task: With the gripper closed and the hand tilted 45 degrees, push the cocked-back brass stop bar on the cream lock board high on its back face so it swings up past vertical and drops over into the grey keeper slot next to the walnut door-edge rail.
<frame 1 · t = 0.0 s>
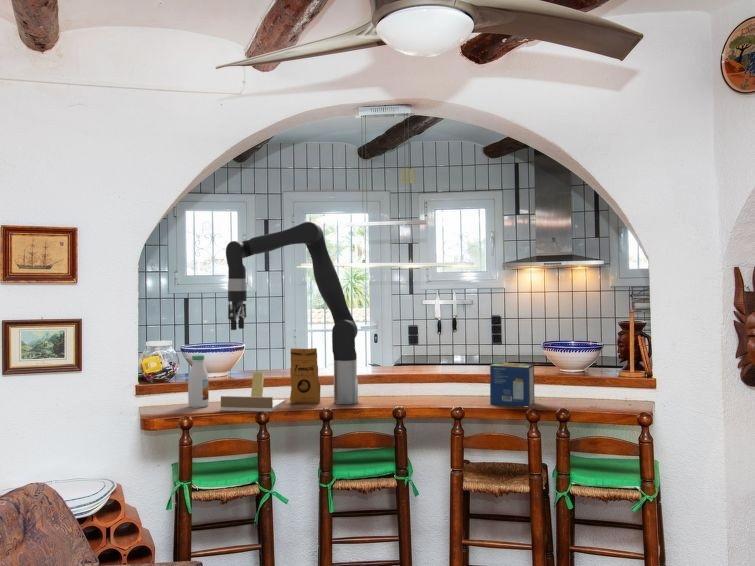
hand: (237, 329, 269), 29 cm above the breakfast bar, tool pointing down, fingers open, 8 cm apart
stop bar: (257, 386, 260), point 7 cm above the breakfast bar, hinge at -15.0°
protein box: (512, 404, 258), on the breakfast bar
lock board: (254, 406, 255), on the breakfast bar
milk bottle: (198, 406, 257), on the breakfast bar
coffee package: (305, 403, 263), on the breakfast bar
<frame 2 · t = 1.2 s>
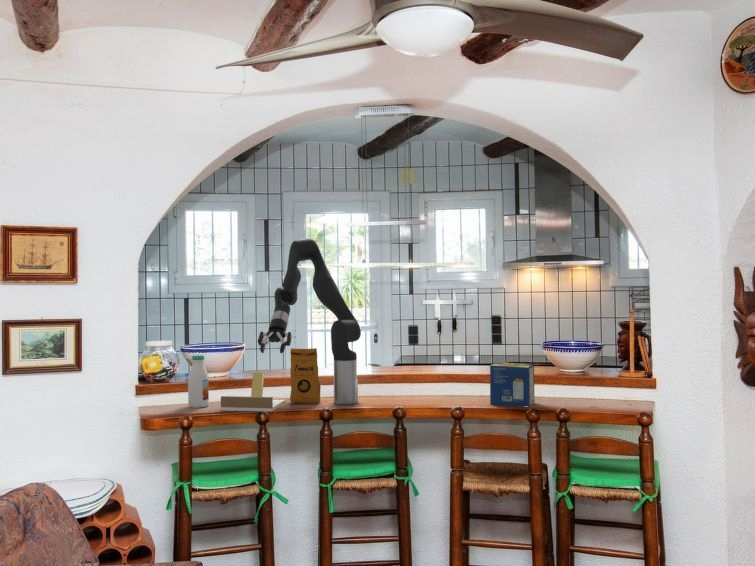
hand: (271, 352, 278), 19 cm above the breakfast bar, tool tilted 45°, fingers open, 8 cm apart
nothing on the breakfast bar moved.
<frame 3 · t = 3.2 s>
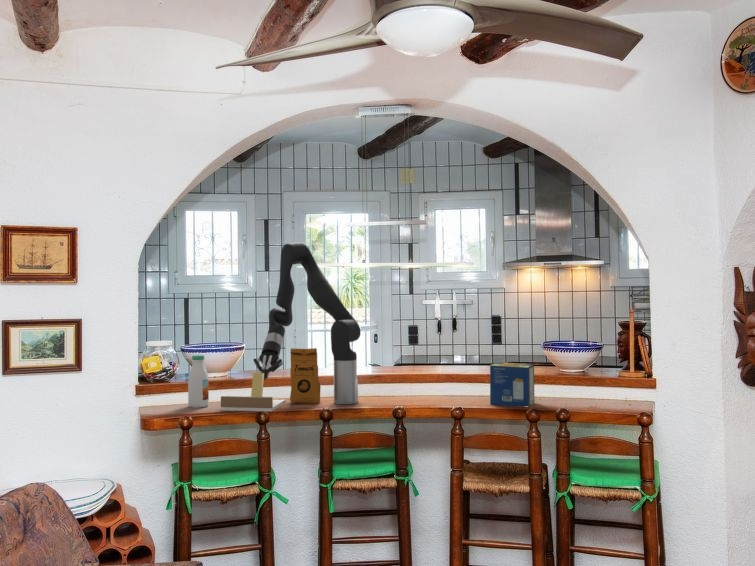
hand: (263, 378, 267), 9 cm above the breakfast bar, tool tilted 45°, fingers closed
nothing on the breakfast bar moved.
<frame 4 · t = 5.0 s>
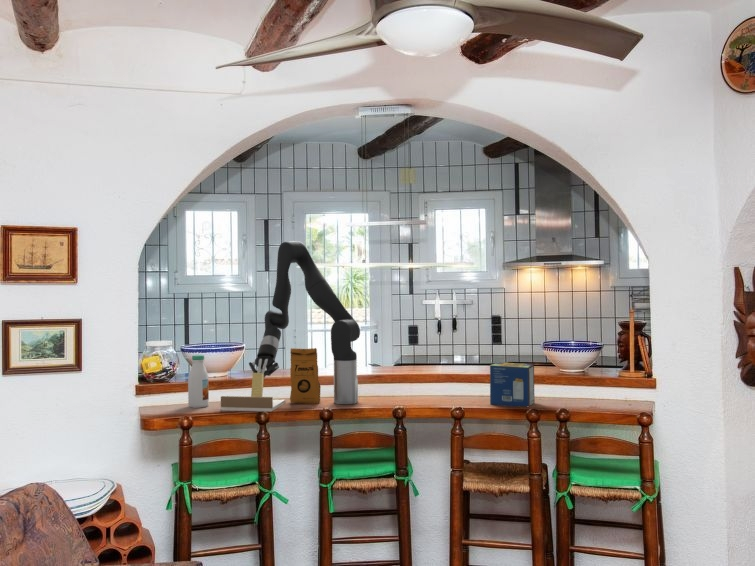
hand: (259, 382, 262), 8 cm above the breakfast bar, tool tilted 45°, fingers closed
stop bar: (257, 386, 260), point 7 cm above the breakfast bar, hinge at -13.5°, touching gripper
everything else where it was.
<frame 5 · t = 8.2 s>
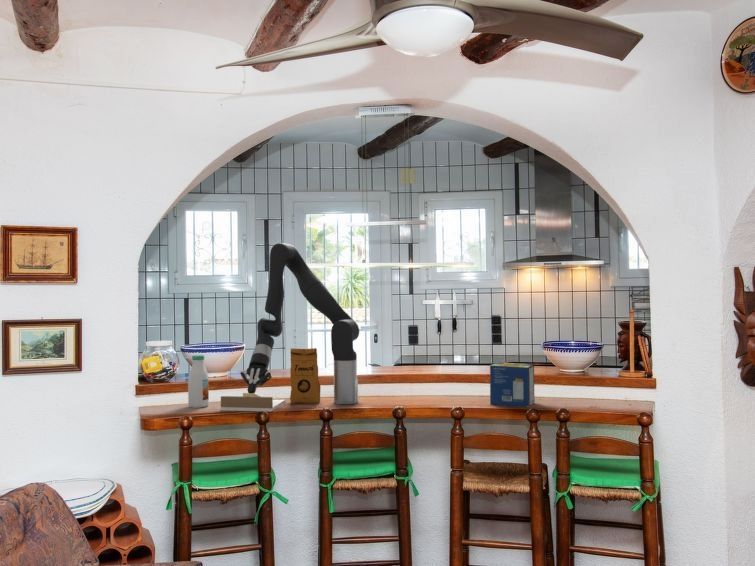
hand: (250, 393, 252), 6 cm above the breakfast bar, tool tilted 45°, fingers closed
stop bar: (252, 397, 254), point 4 cm above the breakfast bar, hinge at 72.4°
everything else where it was.
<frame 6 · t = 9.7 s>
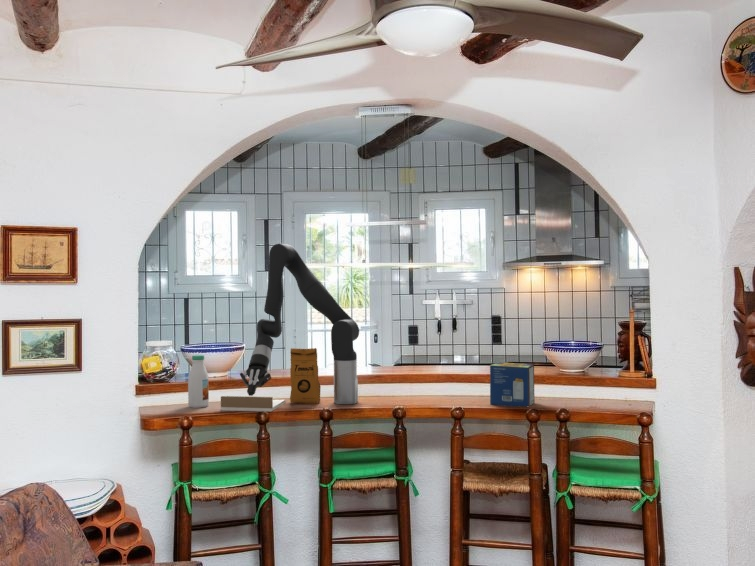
hand: (250, 394, 251), 5 cm above the breakfast bar, tool tilted 45°, fingers closed
stop bar: (252, 401, 254), point 2 cm above the breakfast bar, hinge at 91.1°, touching lock board
everything else where it was.
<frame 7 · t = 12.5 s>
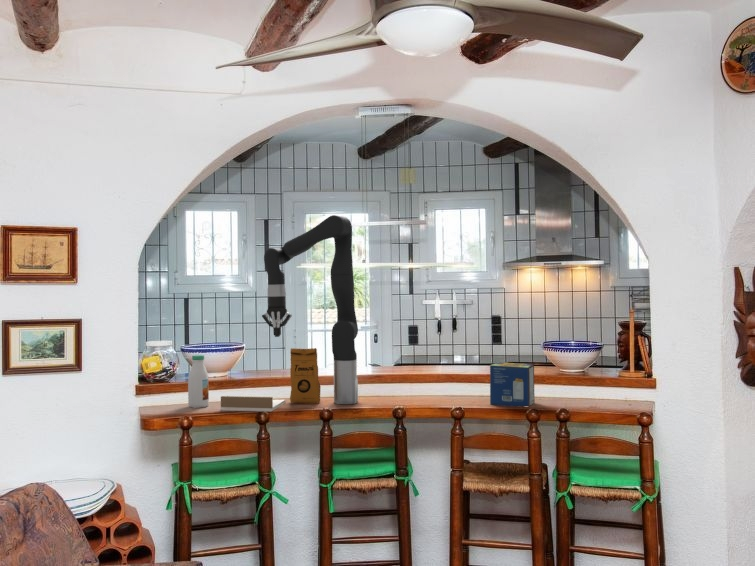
hand: (277, 336, 275), 26 cm above the breakfast bar, tool pointing down, fingers closed
nothing on the breakfast bar moved.
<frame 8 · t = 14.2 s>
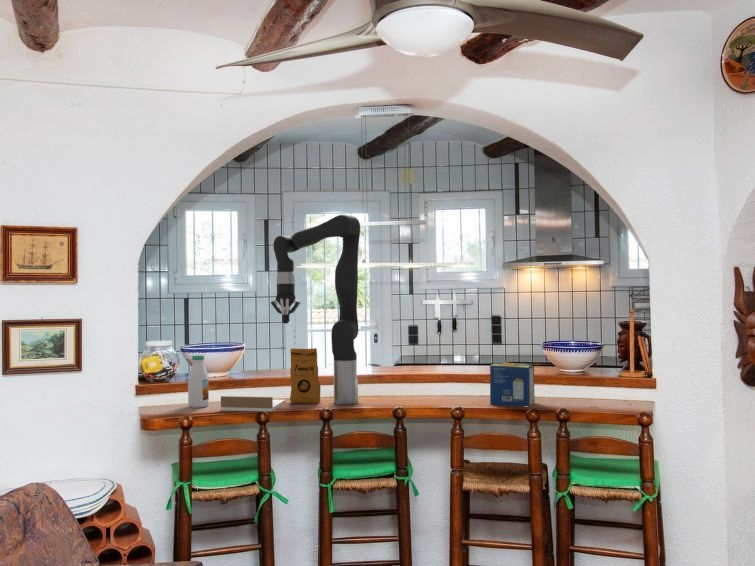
hand: (285, 323, 278), 31 cm above the breakfast bar, tool pointing down, fingers closed
nothing on the breakfast bar moved.
at the end: stop bar at +91° (first picture: -15°); the gripper is holding nothing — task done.
